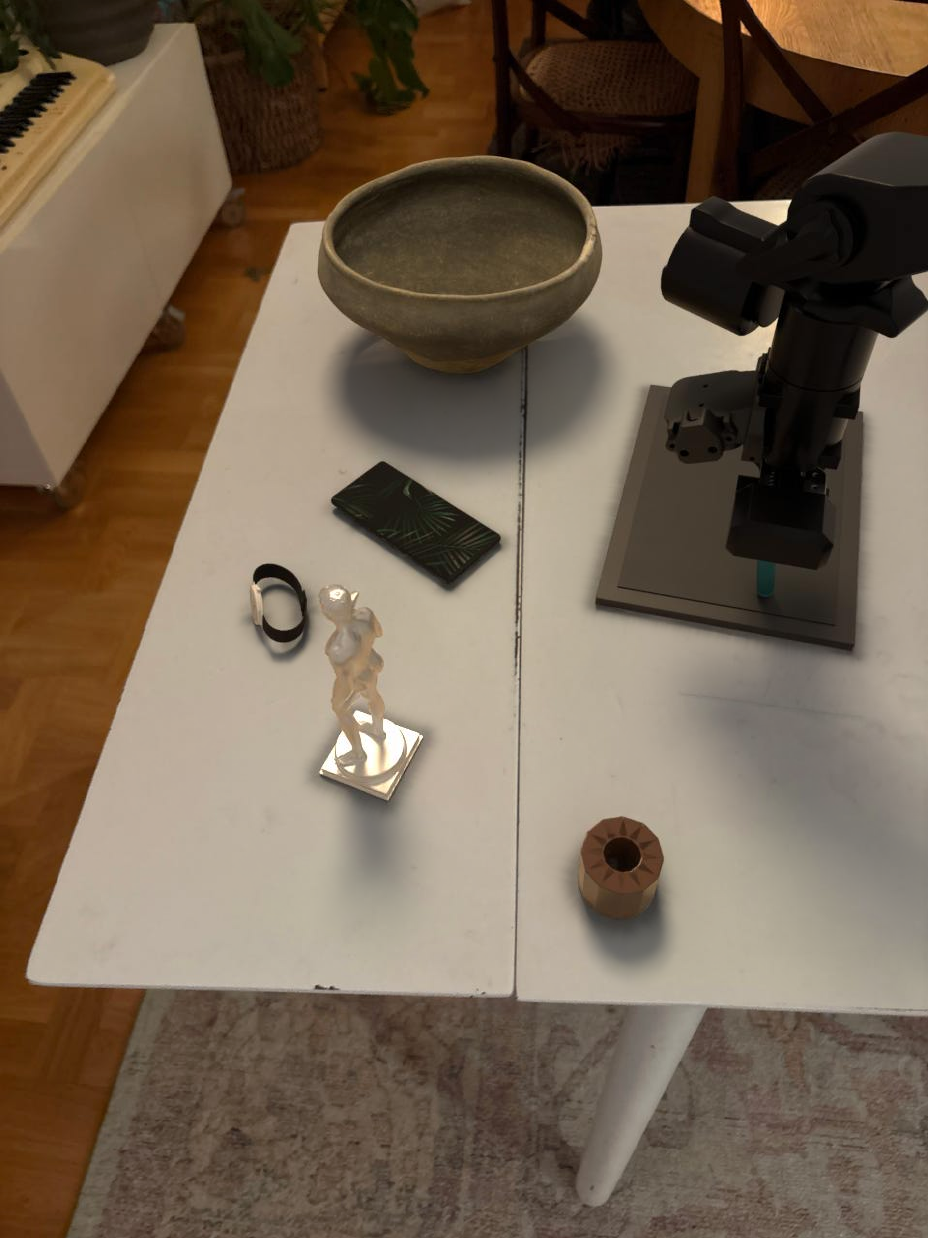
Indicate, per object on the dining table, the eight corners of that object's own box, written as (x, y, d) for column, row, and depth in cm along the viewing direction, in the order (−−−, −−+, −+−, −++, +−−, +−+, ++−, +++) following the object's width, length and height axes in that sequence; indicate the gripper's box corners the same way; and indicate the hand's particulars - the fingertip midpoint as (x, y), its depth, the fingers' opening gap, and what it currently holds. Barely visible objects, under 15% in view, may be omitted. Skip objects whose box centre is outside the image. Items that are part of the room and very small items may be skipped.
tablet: (649, 391, 90) (650, 383, 90) (860, 418, 86) (863, 410, 85) (594, 604, 74) (595, 596, 73) (851, 651, 70) (855, 643, 69)
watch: (245, 587, 78) (234, 559, 75) (298, 572, 78) (289, 543, 76) (263, 656, 73) (252, 628, 70) (320, 638, 74) (311, 610, 71)
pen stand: (644, 841, 61) (651, 811, 58) (664, 913, 58) (672, 886, 55) (571, 852, 61) (574, 823, 58) (587, 925, 58) (591, 899, 55)
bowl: (314, 425, 90) (283, 299, 79) (356, 271, 107) (336, 149, 96) (597, 427, 88) (607, 297, 76) (595, 269, 104) (603, 143, 93)
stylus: (770, 585, 73) (775, 462, 63) (777, 597, 72) (783, 474, 62) (753, 590, 73) (755, 467, 63) (759, 602, 72) (763, 480, 63)
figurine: (372, 684, 71) (332, 523, 57) (446, 722, 68) (423, 564, 54) (306, 766, 67) (245, 615, 52) (381, 810, 64) (339, 663, 50)
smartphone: (448, 581, 75) (328, 498, 82) (449, 588, 76) (330, 506, 83) (503, 534, 78) (382, 458, 85) (503, 542, 79) (383, 466, 86)
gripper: (703, 265, 63) (675, 439, 75) (659, 442, 52) (634, 611, 64) (873, 283, 60) (815, 459, 72) (864, 473, 49) (798, 642, 62)
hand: (764, 536), depth 68 cm, fingers closed on stylus, 1 cm apart
